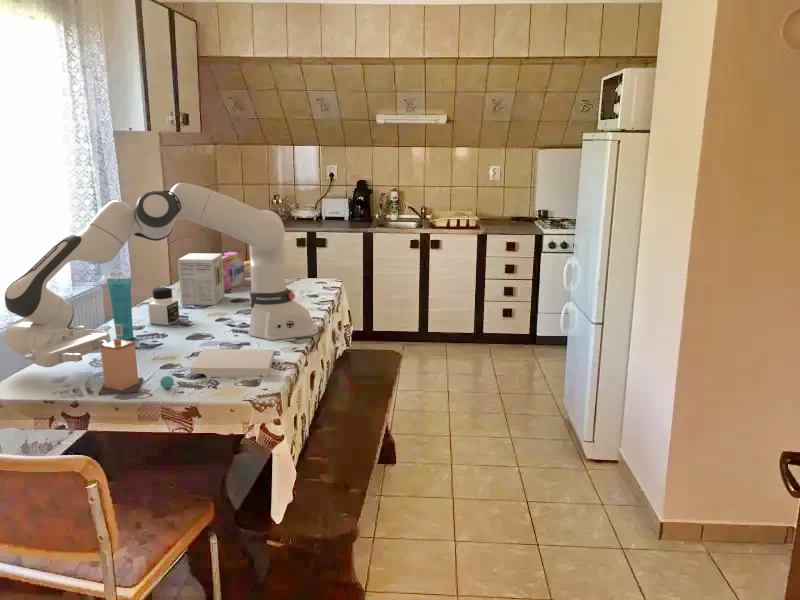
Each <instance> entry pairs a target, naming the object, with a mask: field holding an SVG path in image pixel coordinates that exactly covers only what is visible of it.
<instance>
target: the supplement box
mask: <svg viewBox="0 0 800 600" xmlns="http://www.w3.org/2000/svg"><path fill="white" fill-rule="evenodd" d="M177 261H178V262H177V264H178V277H179V278H178V279H179V290H180V291H179V292H180V293H179V294H180V302H181V303H180V304H181V305H196V306H197V305H199V306H200V305H202V306H203V305H204V306H205V305H206V306H215V305H216V304H218V303H219V302H220V301H221V300H222V299H223V298H225V297H226V296H225V291H224V280H223V263H222V254H218V253H212V252H211V253H203V252H202V253H197V252H193V253H192V252H191V253H190V252H189V253H187V254H186V255H183V256H182V257H180V258H178V260H177Z"/></svg>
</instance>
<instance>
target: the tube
mask: <svg viewBox="0 0 800 600" xmlns="http://www.w3.org/2000/svg"><path fill="white" fill-rule="evenodd" d="M106 282H107V287H108V291H109V298H110V303H111V311H112V316H113V317H112V318H113V323H114V330H115V337H116V338H120V339H121V340H126V341H130V340H132V339H134V330H133V313H132V312H133V310H132V278H106Z"/></svg>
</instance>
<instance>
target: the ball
mask: <svg viewBox="0 0 800 600" xmlns="http://www.w3.org/2000/svg"><path fill="white" fill-rule="evenodd" d="M174 381H175V380H174V378H173V377H172V376H170V375H165V376H163V377H162V378H161V379H160V385H161V387H162V388H163V389H166V390H167V389H168V390H169V389H170V388H172V387H173V386H174V384H175V382H174Z"/></svg>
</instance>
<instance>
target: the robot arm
mask: <svg viewBox="0 0 800 600" xmlns="http://www.w3.org/2000/svg"><path fill="white" fill-rule="evenodd" d="M179 220H183V221H184V220H185V221H190V222H193V223H195V224H197V225H200V226H203V227H206V228H209V229H212V230H215V231H217V232H219V233H223V234H225V235H228V236H230V237H232V238H234V239H236V240H238V241H240V242H242V243H245V244H247V245H249V262H250V263H249V267H250V286H251V287H250V290H249V291H250V292H249V303H250V308H251V314H250V315H251V316H250V323H249V326H248V327H249V328H248V332H247V333H248V335H250V336H252V337H256V338H260V339H265V340H267V341H275V340H284V339H290V338H292V339H294V338H301V337H309V336H315V335H316V334H319V326H318V324H317V323H316V322H313V321H312V317H311V314H310V312H309V310H308V309H307V308H306V307H304V306H303V305H302V304H300V303H298V301H295V300H294V299H295V297H296V295H295V292H294V291H293V290H291V288H287V270H286V269H287V267H286V256H285V255H286V254H285V252H286V251H285V236H286V230H285V226H284V222H283V220H282V218H281V217H280V216H279V214H278V213H276V212H275V211H272V210H270V209H262V210H261V209H258V208H255V207H254V206H251V205H250V204H246V203H244V202H243V201H240V200H238V199H236V198H233V197H230V196H228V195H225V194H222V193H220V192H218V191H215V190H212V189H210V188H207V187H202V186H199V185H197V184H192V183H186V182H178V183H176V184H175V185H173V187H171V188H170V190H152V191H151V190H150V191H148V192H145V193H144V194H142V195H141V196H139V198H138V200H137V202H136V204H135V205H129V204H128V203H126V202H124V201H121V200H111V201H109V202H108V203H107V204H105V205H104V206H103V207H102V208H100V210H99V211H98V212H97V213H96V214H95V215H94V216H93V217H92V219H91V220H90V221H89V222H88V224H87V225H86V226H85V228H83V229H82V230H81V231H80V232H77V233H76V234H71V233H70V234H68V235H66V236H64V237H63V238H62V239H61V240H59V241H58V242H56V243H55V245H53V246H52V247H51V248H50V249H49V250H48V251H47V252H46V253H45V254H44V255H43V256H42V257H41V258H40V259H39V260H38V261H37V262H36V263H35V264H34V265H33V266H32V267H31V268H30V269H29V270H28V271H27V272H26V273H24V274H23V275H21V276H20V277H19V278H17V279H16V280H14V281H13V282H12V283H11V284H10V285H9V286H8V287H7V288H6V289H5V293H4V304H5V307H6V309H7V310H8V312H10V313H12V314H14V315H17V316H19V317H21V318H23V320H21V321H19V322H17V323H13V324H11V325H9V326H8V327H7V329H6V330H5V332H4V343H5V344H6V346H7V348H8V349H9V350H10V351H11V352H13V353H15V354H18V355H21V356H24V359H25V360H28V361H32V363H33V364H35V365H37V366H40V367H42V368H43V367H44V368H52V367H56V366H57V365H60V364H64V363H67V362H68V363H69V362H71V363H72V362H74V363H79V362H81V361H83V356H86V355H89V354H92V353H95V352H98V351H101V347H100V345H103V344H106V343H108V342H111V335H110V333H109V332H107V331H102V330H99V329H94V328H86V326H84V325H77V326H71V325H72V322H73V320H74V316H75V315H74V314H75V313H74V312H75V311H74V307H73V305H72V304H71V303H70V302H68V301H67V300H66V299H64V298H63V297H61V296H59V295H58V294H56V293H55V292H53V291H51V290H50V289H49V288H47V284H48V283H49V282H50V280H52V279H53V277H55V276H56V275H57V274H58V272H60V271H61V270H62V268H64V267H65V266H66V264H68V263H70V262H73V261H81V262H86V263H90V264H93V265H100V264H102V265H103V264H106V263H109V262H111V261H113V260H114V259H115V258H116V257H117V256H118V255H119V253H120V252H121V250H122V249H123V248H124V246H125V245H126V243H127V242H128V240H129V238H131V236H133V235H134V236H135V237H139V238H142V239H146V240H149V241H162V240H164V239H166V238H167V237H169V236H170V235H171V234H172V232H173V229H174V226H175V222H176V221H179Z"/></svg>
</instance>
